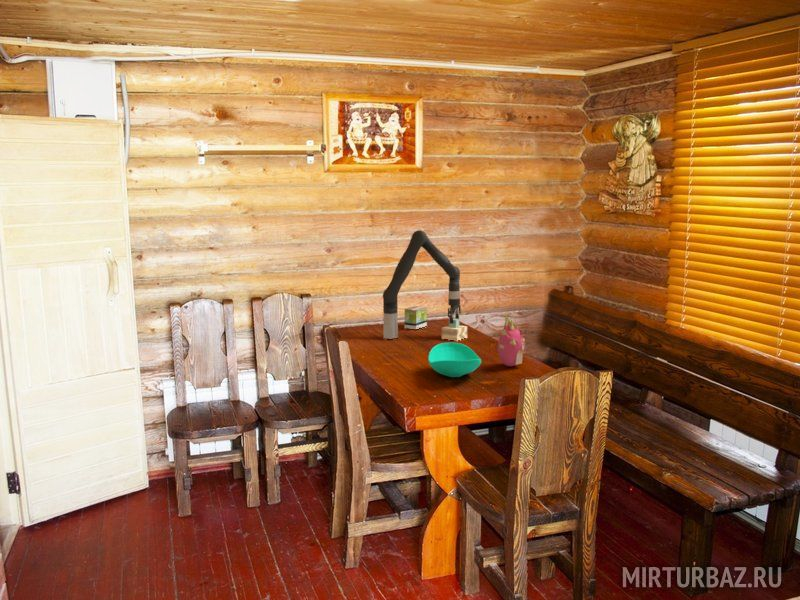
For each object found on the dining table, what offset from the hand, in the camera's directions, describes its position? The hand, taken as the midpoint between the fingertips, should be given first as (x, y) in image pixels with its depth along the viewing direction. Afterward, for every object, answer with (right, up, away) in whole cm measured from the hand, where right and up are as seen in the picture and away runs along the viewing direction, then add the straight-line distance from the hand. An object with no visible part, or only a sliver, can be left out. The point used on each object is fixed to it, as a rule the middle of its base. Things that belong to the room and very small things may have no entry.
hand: (454, 322), depth 452 cm
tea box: (-24, -6, +35) cm, 43 cm away
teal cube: (0, -3, +1) cm, 3 cm away
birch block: (0, -11, +2) cm, 11 cm away
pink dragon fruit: (+26, -22, -66) cm, 75 cm away
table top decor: (-6, -26, -82) cm, 86 cm away
